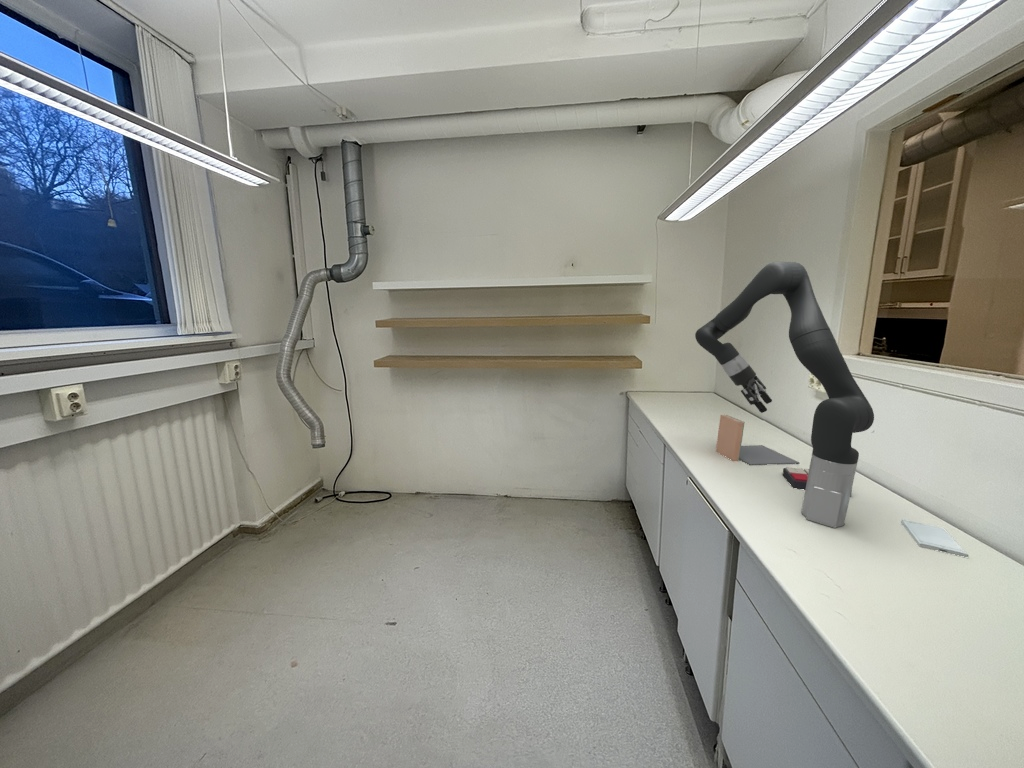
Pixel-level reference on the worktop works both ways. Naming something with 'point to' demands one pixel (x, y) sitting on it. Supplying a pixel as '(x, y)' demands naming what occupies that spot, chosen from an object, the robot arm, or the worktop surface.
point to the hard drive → (933, 538)
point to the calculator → (797, 477)
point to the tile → (730, 437)
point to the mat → (763, 456)
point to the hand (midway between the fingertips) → (767, 406)
